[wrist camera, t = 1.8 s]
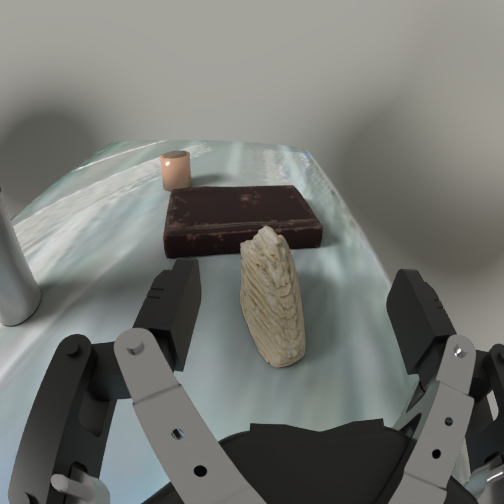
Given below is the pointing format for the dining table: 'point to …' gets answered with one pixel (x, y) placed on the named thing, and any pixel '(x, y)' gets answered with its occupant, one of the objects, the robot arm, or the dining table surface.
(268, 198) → the diary
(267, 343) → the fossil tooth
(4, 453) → the dining table surface
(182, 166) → the peach glossy cylinder
